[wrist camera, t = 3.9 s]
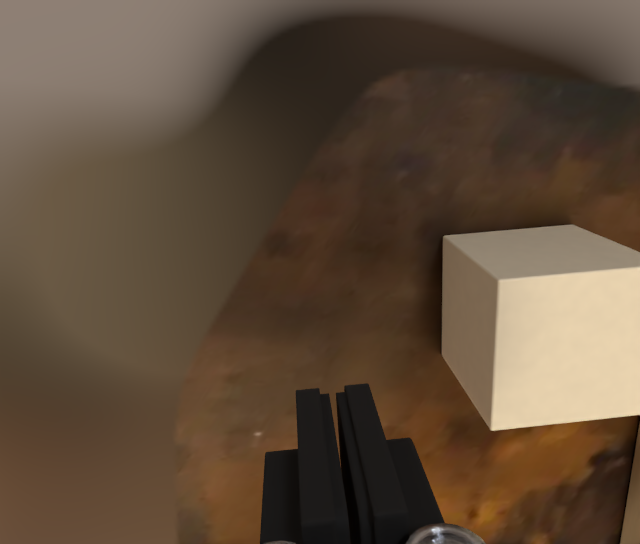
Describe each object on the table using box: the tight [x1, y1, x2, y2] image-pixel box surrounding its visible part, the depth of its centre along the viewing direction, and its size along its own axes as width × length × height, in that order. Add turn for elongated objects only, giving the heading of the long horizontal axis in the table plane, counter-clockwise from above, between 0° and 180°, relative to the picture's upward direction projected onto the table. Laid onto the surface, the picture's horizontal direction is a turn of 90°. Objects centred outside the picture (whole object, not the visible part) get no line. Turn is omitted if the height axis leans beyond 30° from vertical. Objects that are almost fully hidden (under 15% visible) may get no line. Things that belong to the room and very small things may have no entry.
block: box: [442, 225, 640, 431], centre depth 15 cm, size 4×4×4 cm
